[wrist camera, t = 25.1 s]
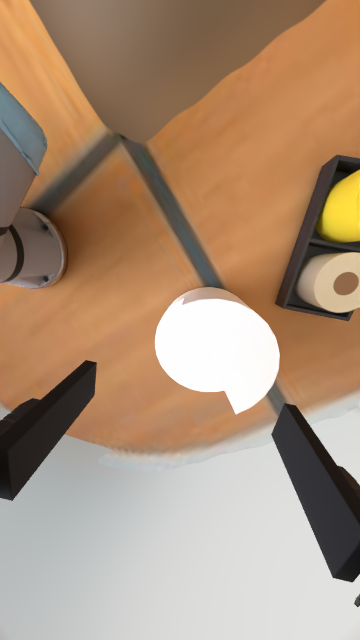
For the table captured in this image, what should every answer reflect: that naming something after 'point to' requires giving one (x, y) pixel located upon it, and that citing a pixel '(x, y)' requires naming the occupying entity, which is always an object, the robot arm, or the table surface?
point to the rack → (317, 238)
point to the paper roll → (330, 281)
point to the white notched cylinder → (218, 346)
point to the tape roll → (341, 211)
